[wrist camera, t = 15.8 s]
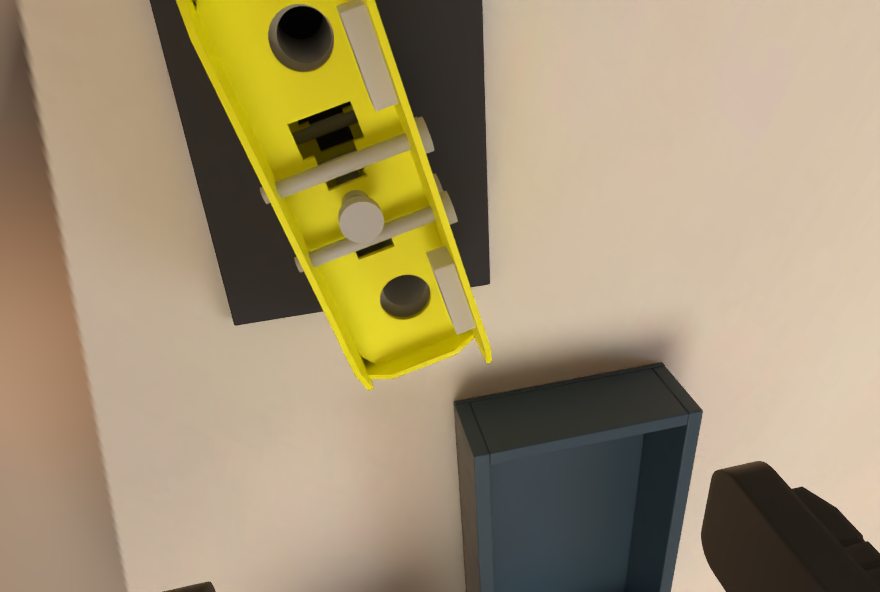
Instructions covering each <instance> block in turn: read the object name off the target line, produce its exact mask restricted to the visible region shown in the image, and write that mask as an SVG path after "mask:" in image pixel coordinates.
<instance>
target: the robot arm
mask: <svg viewBox="0 0 880 592" xmlns="http://www.w3.org/2000/svg"><path fill="white" fill-rule="evenodd" d="M701 540H702V546H703V550H704V554H705V557H706V559H707V562H708V564H709V566H710V568H711V570H712V571H713V573H714V574H715V576H716V577H717V579H718V580H719V582H720V583H721V585H722V586H723V588H724V589H725V591H726V592H880V553H879V552H878V551H877V550H876V549H875V548H874V547H873V546H872V545H871V544H870V543H869V542H868V541H867V542H865V541H864V539H863V535H862V534H861V533H860V532H859V531H858V530H857V529H856V528H855V527H854V526H853V525H852V524H851V523H850V522H849V521H848V520H847V519H846V517H845V516H844V515H843V514H842V513H841V512H840V511H839V510H838V509H837V508H836V507H834V506H833V505H831V504H829V503H828V502H826V501H825V500H823V499H821V498H820V497H818V496H817V495H815V494H813V493H812V492H810V491H809V490H807V489H805V488H804V487H799V488H794V489H791V488H790V487H789V486H788V485H787V484H786V482H785V481H784V480H783V479H782V478H781V477H780V476H779V475H778V474H777V472H776V471H775V470H774V469H773V468H772V467H771V466H769V465H768V464H767V463H765V462H762V461H756V462H751V463H747V464H742V465H738V466H734V467H729V468H725V469H720V470H717V471H715V472H714V473H713V475H712V478H711V483H710V488H709V494H708V499H707V504H706V509H705V515H704V520H703V525H702V531H701ZM164 592H215V589H214V587H213V585H212V583H211V582H204V583H200V584H195V585H191V586H186V587H182V588H177V589H173V590H168V591H164Z"/></svg>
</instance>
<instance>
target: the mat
mask: <svg viewBox="0 0 880 592" xmlns="http://www.w3.org/2000/svg"><path fill="white" fill-rule="evenodd" d="M150 3H151V7H152V11H153V15H154V19H155V22H156V26H157V30H158V34H159V38H160V42H161V45H162V49H163V53H164V57H165V61H166V65H167V68H168V72H169V76H170V80H171V84H172V88H173V91H174V95H175V99H176V103H177V107H178V111H179V115H180V118H181V122H182V126H183V130H184V134H185V138H186V141H187V145H188V149H189V153H190V157H191V161H192V164H193V168H194V172H195V176H196V180H197V184H198V188H199V191H200V195H201V199H202V203H203V207H204V211H205V214H206V218H207V222H208V226H209V230H210V234H211V237H212V241H213V245H214V249H215V253H216V257H217V261H218V264H219V268H220V272H221V276H222V280H223V284H224V287H225V291H226V295H227V299H228V303H229V307H230V310H231V314H232V318H233V322H234V325H242V324H248V323H254V322H260V321H266V320H272V319H279V318H285V317H291V316H297V315H303V314H309V313H316V312H322V311H323V309H322V307H321V305H320V303H319V301H318V299H317V297H316V295H315V293H314V291H313V289H312V287H311V285H310V282H309V280H308V278H307V276H306V274H305V272H304V271H303V272H301V273H300V271H299V270H298V268H297V266H296V263H295V259H294V257H297V256H296V254H295V252H294V250H293V248H292V246H291V244H290V242H289V240H288V238H287V236H286V234H285V231H284V229H283V227H282V225H281V223H280V221H279V219H278V217H277V215H276V213H275V211H274V209H273V207H272V205H271V203H269V204H266V203H265V201H264V199H263V197H262V195H261V192H260V187H262V185H261V183H260V180H259V178H258V176H257V174H256V172H255V170H254V168H253V166H252V164H251V162H250V160H249V158H248V156H247V154H246V152H245V150H244V148H243V146H242V144H241V142H240V140H239V138H238V136H237V134H236V131H235V129H234V127H233V125H232V123H231V121H230V119H229V117H228V115H227V113H226V111H225V109H224V107H223V105H222V103H221V101H220V99H219V97H218V95H217V93H216V91H215V89H214V87H213V85H212V83H211V80H210V78H209V76H208V74H207V72H206V70H205V68H204V66H203V64H202V62H201V60H200V58H199V56H198V54H197V52H196V50H195V48H194V46H193V44H192V42H191V40H190V37H189V34H188V32H187V29H186V26H185V24H184V21H183V18H182V15H181V13H180V10H179V7H178V5H177V2H176V0H150ZM375 3H376V6H377V9H378V12H379V15H380V18H381V21H382V24H383V27H384V30H385V33H386V36H387V39H388V42H389V45H390V48H391V51H392V54H393V57H394V60H395V63H396V66H397V69H398V72H399V75H400V78H401V81H402V84H403V87H404V90H405V93H406V96H407V99H408V102H409V105H410V108H411V111H412V114H413V117H417V118H419V117H421V116H422V117H423V119H424V121H425V123H426V126H427V128H428V131H429V133H430V136H431V139H432V142H433V146H434V151H432V152H430V153H427V154H426V156H427V159H428V162H429V165H430V167H431V170H432V173H433V174H435V173H436V175H437V177H438V179H439V181H440V184H441V186H442V189H443V191H447V193H448V195H449V197H450V200H451V202H452V205H453V207H454V210H455V213H456V216H457V221H458V222H456V223H453V224H450V227H451V230H452V233H453V236H454V239H455V242H456V245H457V248H458V251H459V254H460V257H461V260H462V263H463V266H464V269H465V272H466V275H467V278H468V281H469V284H470V287H475V286H482V285H488V284H490V269H489V233H488V196H487V160H486V123H485V87H484V50H483V14H482V0H375ZM321 24H322V14H321V13H320V12H319V11H318V10H316V9H314V8H311V7H308V6H297V7H293V8H291V9H289V10H288V11H286V12H285V13H284V14H283V15H282V17H281V18H280V20H279V22H278V25H279V27H280V28H281V30H282V31H283V32H284V33H285V34H287V35H288V36H290V37H292V38H295V39H307V38H310V37H312V36H313V35H314V34H316V32H317V31H318V30H319V28H320V26H321ZM349 105H351V103H350V101H349V102H346V103H344V104H341V105H338V106H336V107H333V108H330V109H328V110H325V111H322V112H320V113H317V114H314V115H312V116H309V117H306V118H304V119H301V120H298V124H302V123H304V122H307V121H308V122H309V124H312V123H315V122H317V121H320V120H323V119H325V118H328V117H331V116H333V115H336V114H339V113H341V112H343V110H342V108H344V107H347V106H349ZM351 139H354V138H353V135H352V133H351V130H350V128H349V126H347V127H344V128H342V129H339V130H337V131H334V132H331V133H329V134H326V135H323V136H321V137H318V138H316V141H317V143H318V145H319V148H320V150H321V151H322V150H325V149H328V148H330V147H333V146H335V145H338V144H341V143H343V142H346V141H349V140H351Z"/></svg>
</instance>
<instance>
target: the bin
mask: <svg viewBox="0 0 880 592" xmlns="http://www.w3.org/2000/svg"><path fill="white" fill-rule="evenodd" d="M702 413H703V411H702V409H701V408H700V407H699V406H698V404H697V403H696V402H695V401H694V400H693V399H692V397H691V396H690V395H689V394H688V393H687V392H686V390H685V389H684V388H683V387H682V386H681V384H680V383H679V382H678V381H677V380H676V379H675V377H674V376H673V375H672V374H671V373H670V372H669V370H668V369H667V368H666V367H665V365H664V364H663V363H658V364H652V365H647V366H642V367H636V368H631V369H626V370H620V371H615V372H610V373H604V374H599V375H594V376H588V377H583V378H578V379H572V380H567V381H562V382H557V383H551V384H546V385H541V386H535V387H530V388H525V389H519V390H514V391H509V392H503V393H498V394H493V395H487V396H482V397H477V398H471V399H466V400H461V401H456V402H454V414H455V429H456V445H457V460H458V475H459V490H460V505H461V521H462V536H463V551H464V566H465V581H466V592H671V587H672V581H673V575H674V570H675V564H676V559H677V553H678V547H679V542H680V536H681V531H682V525H683V519H684V514H685V508H686V503H687V497H688V491H689V486H690V480H691V475H692V469H693V463H694V458H695V452H696V447H697V441H698V436H699V430H700V424H701V419H702Z"/></svg>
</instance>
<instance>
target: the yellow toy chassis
mask: <svg viewBox="0 0 880 592" xmlns="http://www.w3.org/2000/svg"><path fill="white" fill-rule="evenodd" d="M176 2H177V5H178V7H179V10H180V13H181V15H182V18H183V21H184V24H185V26H186V29H187V32H188V34H189V37H190V40H191V42H192V44H193V46H194V48H195V50H196V52H197V54H198V56H199V58H200V60H201V62H202V64H203V66H204V68H205V70H206V72H207V74H208V76H209V78H210V80H211V83H212V85H213V87H214V89H215V91H216V93H217V95H218V97H219V99H220V101H221V103H222V105H223V107H224V109H225V111H226V113H227V115H228V117H229V119H230V121H231V123H232V125H233V127H234V129H235V131H236V134H237V136H238V138H239V140H240V142H241V144H242V146H243V148H244V150H245V152H246V154H247V156H248V158H249V160H250V162H251V164H252V166H253V168H254V170H255V172H256V174H257V176H258V178H259V180H260V183H261V185H262V187H260V192H261V195H262V197H263V199H264V201H265V203H266V204H269V203H271V205H272V207H273V209H274V211H275V213H276V215H277V217H278V219H279V221H280V223H281V225H282V227H283V229H284V231H285V234H286V236H287V238H288V240H289V242H290V244H291V246H292V248H293V250H294V252H295V254H296V256H297V257H294V259H295V263H296V266H297V268H298V270H299V271H300V273H301V272H303V271H304V272H305V274H306V276H307V278H308V280H309V282H310V285H311V287H312V289H313V291H314V293H315V295H316V297H317V299H318V301H319V303H320V305H321V307H322V309H323V311H324V313H325V315H326V317H327V319H328V321H329V323H330V325H331V327H332V329H333V331H334V333H335V336H336V338H337V340H338V342H339V344H340V346H341V348H342V350H343V352H344V354H345V356H346V358H347V360H348V362H349V364H350V366H351V368H352V370H353V372H354V374H355V376H356V377H357V378H358V379H359V381H360V382H361V383H362V384H363V385H364V386H365V387H366V388H367V389H368V390H371V389H374V388H373V384H372V379H394V378H397V377H400V376H402V375H405V374H407V373H410V372H412V371H415V370H418V369H420V368H423V367H425V366H428V365H431V364H433V363H436V362H438V361H441V360H443V359H446V358H449V357H451V356H454V355H456V354H457V353H458V352H459V351H460V350H462V349H463V348H464V347H465V346H466V345H467V344H468V343H469V342H470V341H472V340H473V339H474V338H475V340H476V342H477V344H478V346H479V348H480V350H481V353H482V355H483V357H484V359H485V361H486V363H490V362H492V358H491V347H490V344H489V341H488V338H487V335H486V332H485V329H484V326H483V323H482V320H481V317H480V314H479V311H478V308H477V305H476V302H475V299H474V296H473V293H472V290H471V287H470V284H469V281H468V278H467V275H466V272H465V269H464V266H463V263H462V260H461V257H460V254H459V251H458V248H457V245H456V242H455V239H454V236H453V233H452V230H451V227H450V224H453V223H456V222H458V221H457V216H456V213H455V210H454V207H453V205H452V202H451V200H450V197H449V195H448V193H447V191H443V189H442V186H441V184H440V181H439V179H438V177H437V175H436V173H435V174H433V173H432V170H431V167H430V165H429V162H428V159H427V156H426V154H427V153H430V152H432V151H434V146H433V142H432V139H431V136H430V133H429V131H428V128H427V126H426V123H425V121H424V119H423V117H422V116H421V117H419V118H417V117H413V114H412V111H411V108H410V105H409V102H408V99H407V96H406V93H405V90H404V87H403V84H402V81H401V78H400V75H399V72H398V69H397V66H396V63H395V60H394V57H393V54H392V51H391V48H390V45H389V42H388V39H387V36H386V33H385V30H384V27H383V24H382V21H381V18H380V15H379V12H378V9H377V6H376V3H375V0H176ZM297 6H308V7H311V8H314V9H316V10H318V11H319V12H320V13H321V14H322V24H321V26H320V28H319V30H318V31H317V32H316V34H314V35H313V36H312V37H310V38H307V39H295V38H292V37H290V36H288V35H287V34H285V33H284V32H283V31H282V30H281V28H280V27H279V25H278V22H279V20H280V18H281V17H282V15H283V14H284V13H285V12H286V11H288V10H289V9H291V8H293V7H297ZM349 101H350V103H351V105H349V106H347V107H344V108H342V110H343V112H341V113H339V114H336V115H333V116H331V117H328V118H325V119H323V120H320V121H317V122H315V123H312V124H309V122H308V121H307V122H304V123H302V124H298V120H301V119H304V118H306V117H309V116H312V115H314V114H317V113H320V112H322V111H325V110H328V109H330V108H333V107H336V106H338V105H341V104H344V103H346V102H349ZM347 126H349V128H350V130H351V133H352V135H353V138H354V139H351V140H349V141H346V142H343V143H341V144H338V145H335V146H333V147H330V148H328V149H325V150H322V151H321V150H320V148H319V145H318V143H317V141H316V138H318V137H321V136H323V135H326V134H329V133H331V132H334V131H337V130H339V129H342V128H344V127H347Z"/></svg>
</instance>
